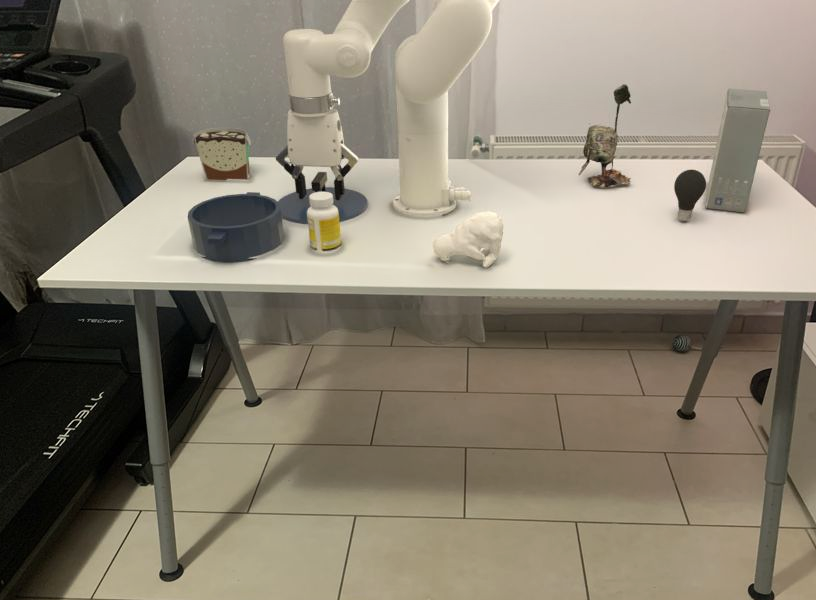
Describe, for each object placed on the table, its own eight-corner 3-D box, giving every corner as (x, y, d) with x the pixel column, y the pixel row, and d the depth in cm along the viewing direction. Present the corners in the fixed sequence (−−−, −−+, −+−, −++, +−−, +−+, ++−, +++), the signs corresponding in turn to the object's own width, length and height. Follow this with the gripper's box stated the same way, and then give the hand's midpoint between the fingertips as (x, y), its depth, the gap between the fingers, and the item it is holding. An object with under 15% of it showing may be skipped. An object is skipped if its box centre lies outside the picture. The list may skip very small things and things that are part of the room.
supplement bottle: (347, 244, 128) (342, 192, 122) (333, 257, 123) (327, 203, 118) (319, 240, 129) (314, 188, 124) (305, 252, 125) (298, 199, 119)
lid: (374, 193, 149) (373, 162, 145) (358, 228, 134) (356, 195, 130) (289, 191, 150) (285, 160, 146) (264, 225, 135) (259, 192, 131)
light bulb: (700, 218, 137) (711, 167, 132) (696, 229, 133) (706, 177, 128) (671, 214, 139) (680, 163, 134) (665, 224, 135) (674, 172, 130)
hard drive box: (746, 214, 139) (770, 109, 128) (705, 209, 141) (726, 106, 130) (745, 187, 152) (767, 89, 141) (707, 183, 154) (726, 86, 143)
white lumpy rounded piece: (503, 219, 115) (428, 225, 115) (506, 267, 119) (434, 273, 120) (501, 205, 120) (430, 210, 121) (504, 251, 125) (435, 256, 125)
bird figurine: (576, 175, 158) (585, 81, 147) (628, 177, 157) (642, 82, 146) (577, 188, 151) (587, 90, 140) (632, 190, 150) (646, 92, 139)
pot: (298, 221, 136) (294, 189, 133) (265, 271, 119) (260, 236, 115) (218, 219, 137) (212, 187, 134) (174, 268, 120) (166, 233, 116)
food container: (264, 172, 159) (257, 127, 154) (255, 182, 154) (248, 135, 149) (210, 170, 160) (202, 125, 155) (200, 180, 155) (190, 134, 150)
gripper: (362, 99, 133) (368, 191, 143) (270, 97, 134) (282, 189, 144) (354, 110, 127) (361, 205, 137) (258, 108, 128) (272, 203, 138)
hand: (320, 196), depth 140 cm, fingers open, 6 cm apart
